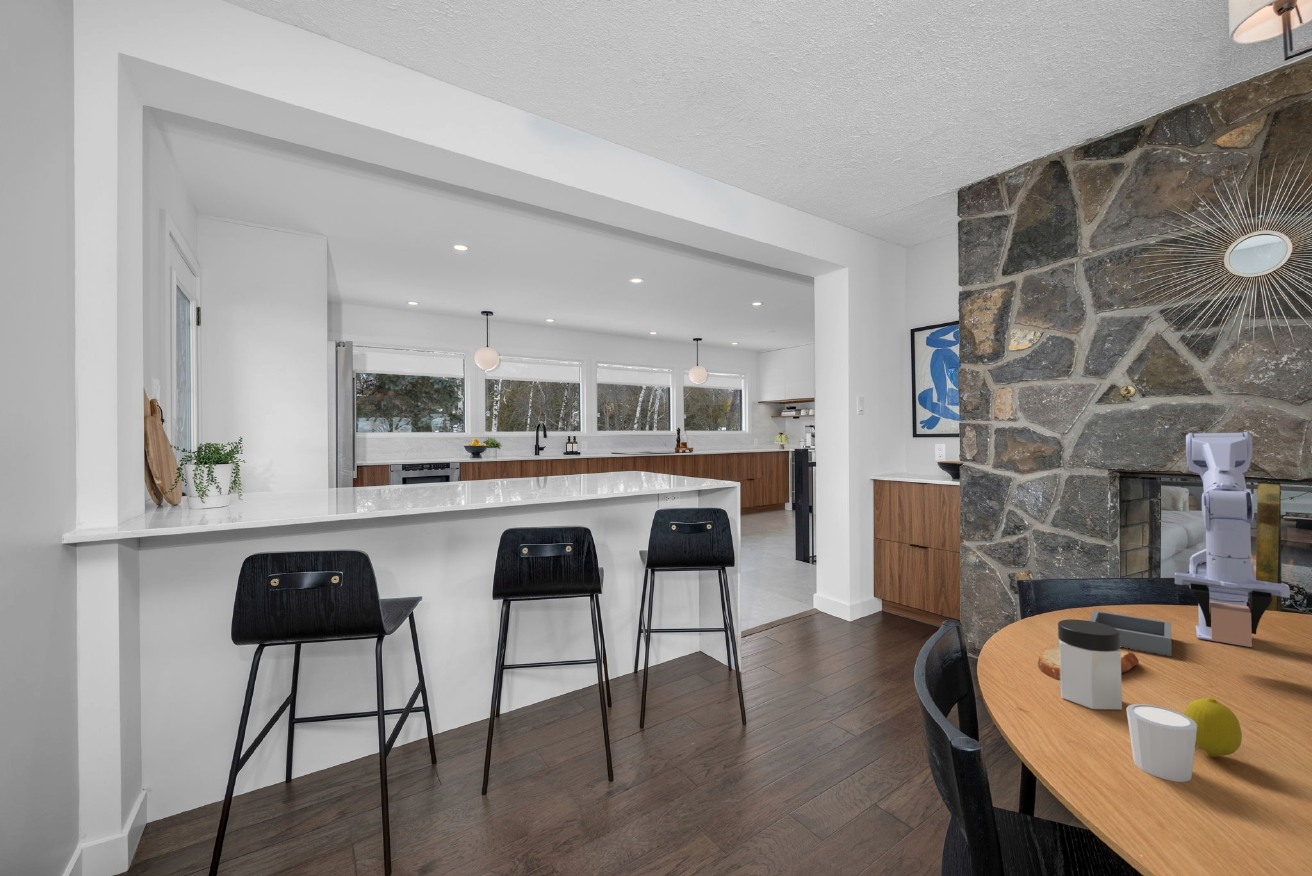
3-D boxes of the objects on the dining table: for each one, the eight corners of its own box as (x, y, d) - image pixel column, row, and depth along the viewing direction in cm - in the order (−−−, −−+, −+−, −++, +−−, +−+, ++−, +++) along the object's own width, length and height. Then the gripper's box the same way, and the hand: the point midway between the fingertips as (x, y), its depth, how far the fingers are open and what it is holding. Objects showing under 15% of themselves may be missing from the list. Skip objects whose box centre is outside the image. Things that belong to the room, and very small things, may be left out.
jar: (1135, 704, 89) (1133, 630, 89) (1108, 716, 85) (1106, 639, 85) (1073, 682, 97) (1071, 615, 97) (1046, 692, 93) (1044, 622, 93)
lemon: (1254, 770, 71) (1253, 709, 71) (1204, 766, 72) (1203, 705, 72) (1220, 747, 76) (1218, 690, 76) (1174, 743, 77) (1172, 687, 77)
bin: (1094, 625, 126) (1093, 610, 126) (1171, 638, 117) (1170, 622, 117) (1087, 640, 116) (1087, 624, 116) (1171, 656, 107) (1171, 638, 107)
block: (1210, 632, 104) (1209, 601, 104) (1248, 638, 101) (1248, 606, 101) (1211, 639, 100) (1211, 607, 100) (1252, 646, 97) (1251, 612, 97)
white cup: (1113, 755, 75) (1112, 704, 75) (1159, 751, 75) (1158, 701, 75) (1164, 786, 68) (1163, 730, 68) (1214, 782, 69) (1213, 727, 69)
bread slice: (1048, 682, 98) (1048, 661, 98) (1019, 646, 115) (1019, 628, 115) (1174, 696, 92) (1174, 674, 92) (1124, 656, 109) (1124, 637, 109)
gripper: (1174, 553, 103) (1176, 625, 103) (1291, 564, 93) (1293, 644, 93) (1174, 548, 108) (1175, 616, 108) (1285, 557, 98) (1287, 633, 98)
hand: (1230, 628), depth 100 cm, fingers closed on block, 5 cm apart
